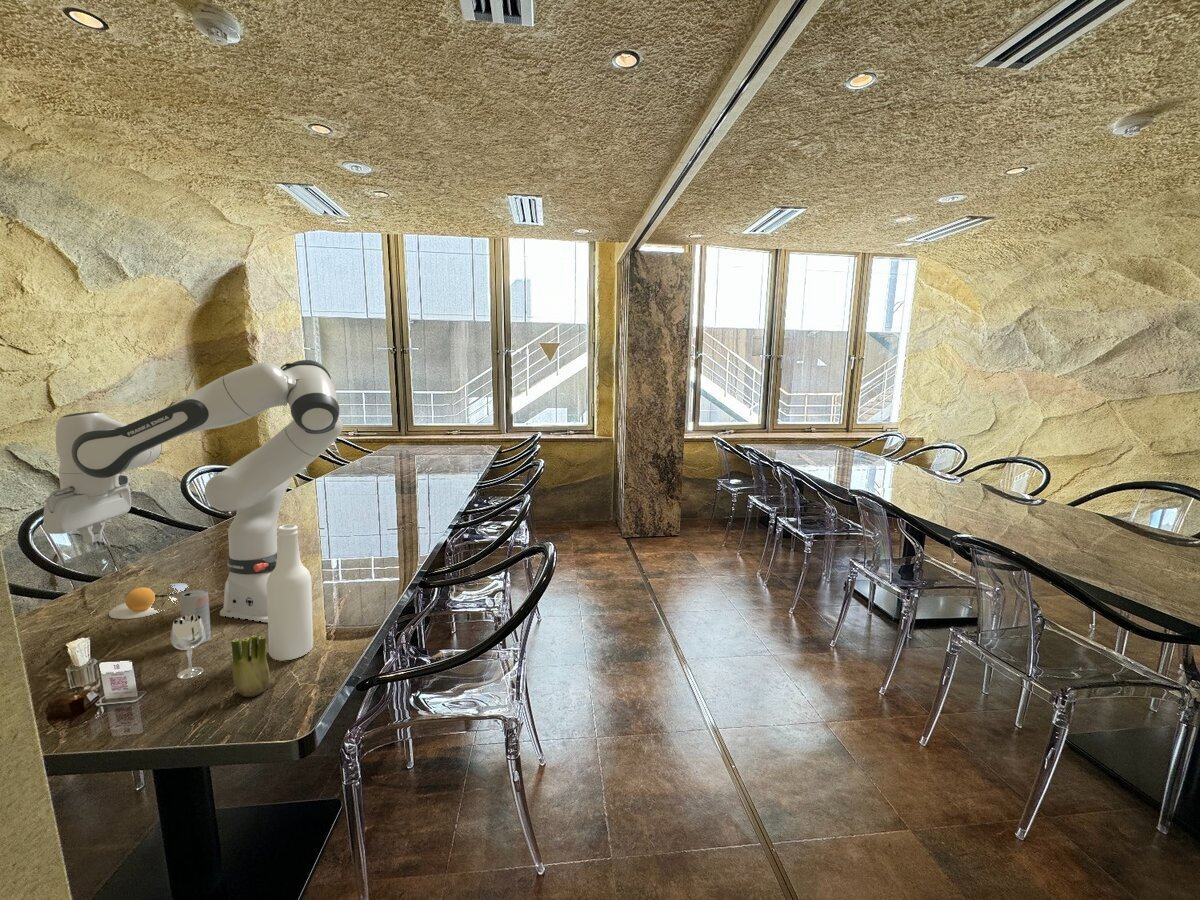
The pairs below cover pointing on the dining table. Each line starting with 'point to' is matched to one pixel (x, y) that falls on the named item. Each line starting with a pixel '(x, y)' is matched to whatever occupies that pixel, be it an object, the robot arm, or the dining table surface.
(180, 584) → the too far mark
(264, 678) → the fennel bulb
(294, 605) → the white bottle
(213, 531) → the dining table surface
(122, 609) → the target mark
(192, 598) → the energy drink
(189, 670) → the wineglass
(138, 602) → the ball
